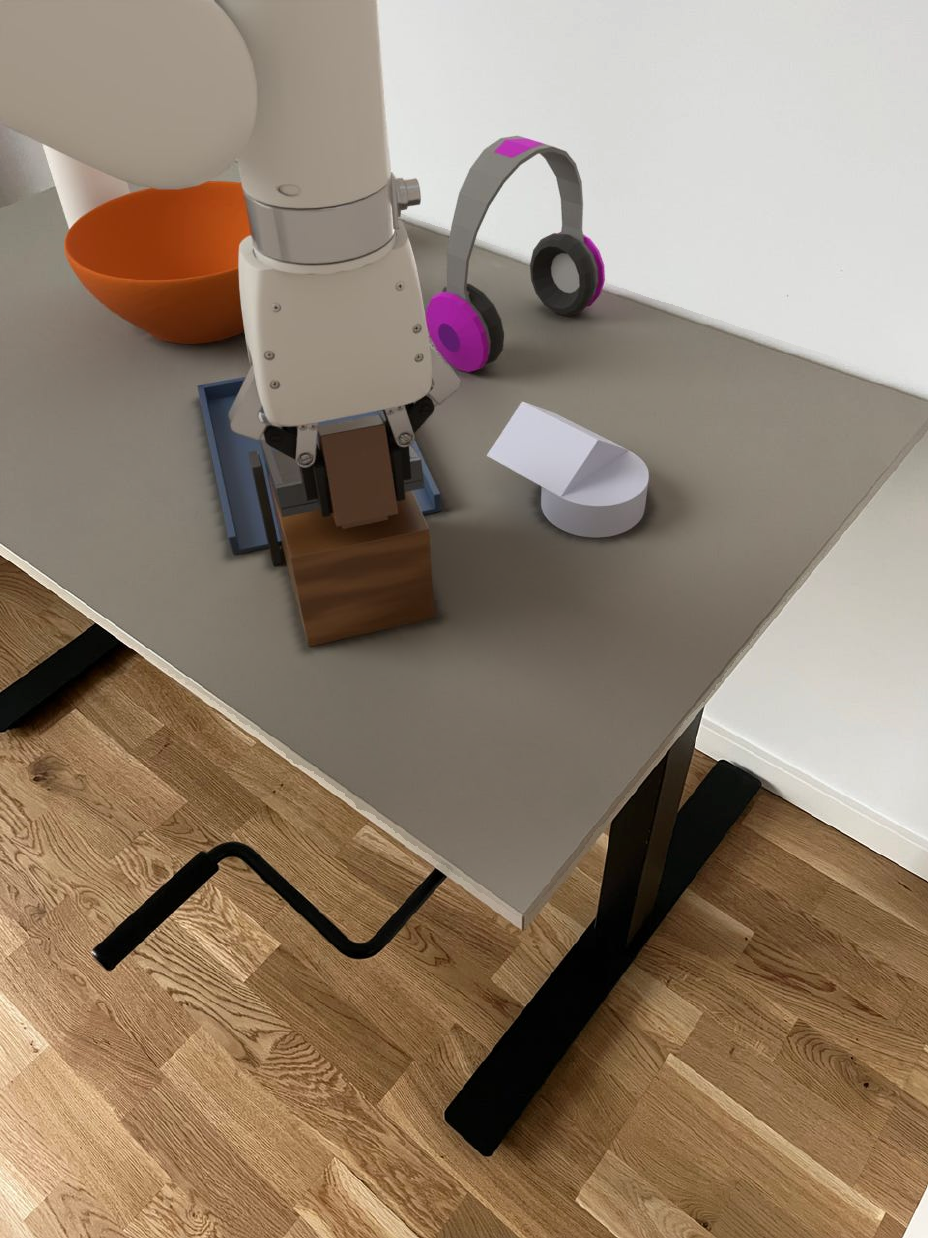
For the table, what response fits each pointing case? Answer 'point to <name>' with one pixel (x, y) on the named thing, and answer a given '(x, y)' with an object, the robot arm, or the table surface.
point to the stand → (351, 567)
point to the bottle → (81, 185)
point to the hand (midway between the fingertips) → (358, 493)
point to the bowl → (166, 259)
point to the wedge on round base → (574, 472)
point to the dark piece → (346, 473)
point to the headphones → (558, 263)
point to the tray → (238, 474)
